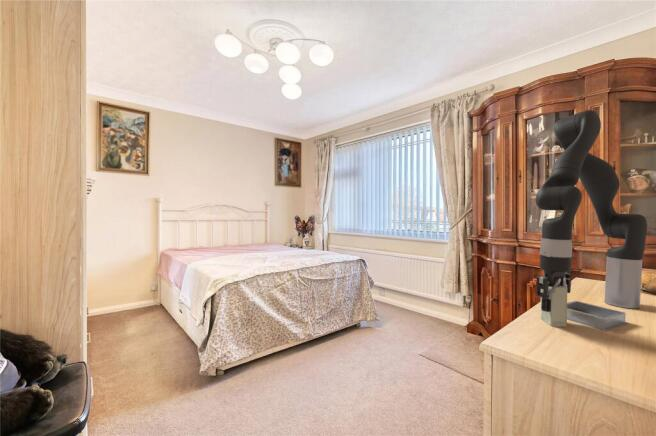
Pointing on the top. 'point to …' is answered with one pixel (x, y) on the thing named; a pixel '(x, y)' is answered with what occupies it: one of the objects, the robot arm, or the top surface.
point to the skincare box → (557, 308)
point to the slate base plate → (599, 328)
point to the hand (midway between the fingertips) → (553, 309)
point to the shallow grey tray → (609, 315)
